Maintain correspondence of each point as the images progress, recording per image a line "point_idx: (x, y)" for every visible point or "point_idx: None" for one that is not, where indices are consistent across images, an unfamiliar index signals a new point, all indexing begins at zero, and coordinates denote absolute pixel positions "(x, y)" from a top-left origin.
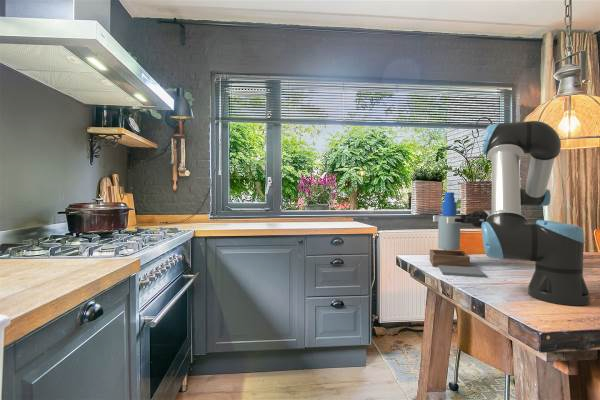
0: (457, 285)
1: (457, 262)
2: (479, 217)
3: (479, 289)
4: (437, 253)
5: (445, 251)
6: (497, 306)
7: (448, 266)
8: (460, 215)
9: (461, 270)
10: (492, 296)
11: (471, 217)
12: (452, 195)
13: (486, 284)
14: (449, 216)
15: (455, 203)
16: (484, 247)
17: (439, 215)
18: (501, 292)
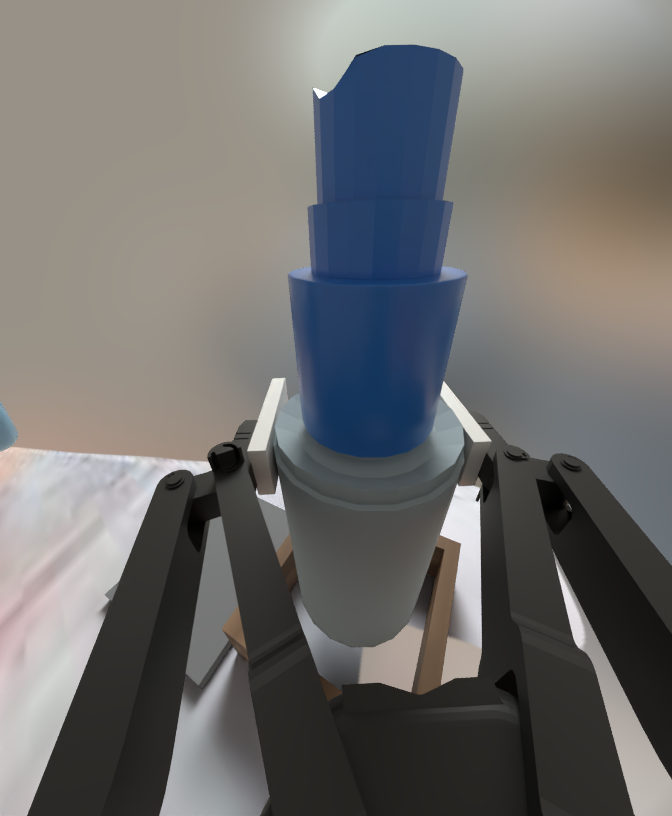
0: (145, 467)
1: None
2: (30, 809)
3: (88, 488)
4: (437, 580)
5: (430, 617)
6: (28, 455)
7: (277, 542)
8: (551, 637)
9: (207, 548)
10: (46, 481)
11: (161, 553)
12: (317, 157)
13: (82, 534)
14: (299, 393)
15: (291, 295)
16: (7, 414)
17: (451, 398)
18: (25, 518)
